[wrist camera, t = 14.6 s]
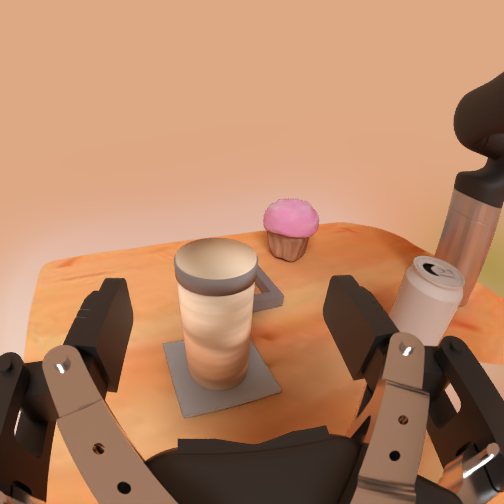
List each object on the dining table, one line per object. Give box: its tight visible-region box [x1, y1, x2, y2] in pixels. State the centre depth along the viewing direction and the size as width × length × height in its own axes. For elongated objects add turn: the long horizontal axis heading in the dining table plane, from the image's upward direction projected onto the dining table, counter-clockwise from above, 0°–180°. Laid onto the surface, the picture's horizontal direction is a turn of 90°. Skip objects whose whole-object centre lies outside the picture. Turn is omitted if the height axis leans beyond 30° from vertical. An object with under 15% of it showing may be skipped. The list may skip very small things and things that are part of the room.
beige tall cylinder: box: [174, 238, 258, 391], centre depth 22 cm, size 6×6×12 cm
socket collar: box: [252, 266, 284, 312], centre depth 36 cm, size 10×10×2 cm
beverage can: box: [389, 256, 465, 346], centre depth 23 cm, size 6×6×12 cm
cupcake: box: [264, 199, 319, 262], centre depth 45 cm, size 9×9×10 cm
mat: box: [163, 339, 282, 418], centre depth 25 cm, size 9×9×1 cm
